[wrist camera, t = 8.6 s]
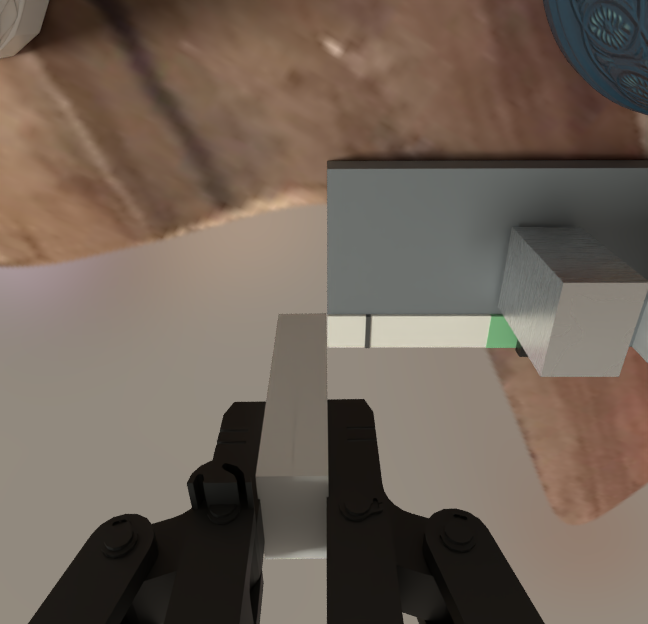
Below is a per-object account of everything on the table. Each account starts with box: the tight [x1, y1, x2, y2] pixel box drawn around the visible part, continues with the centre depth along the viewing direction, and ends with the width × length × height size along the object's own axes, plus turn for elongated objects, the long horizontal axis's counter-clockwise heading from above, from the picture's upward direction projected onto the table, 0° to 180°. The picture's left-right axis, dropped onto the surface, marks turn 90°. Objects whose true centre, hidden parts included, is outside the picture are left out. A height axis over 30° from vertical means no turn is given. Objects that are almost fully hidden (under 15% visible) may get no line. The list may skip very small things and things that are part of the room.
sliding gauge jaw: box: [498, 227, 648, 377], centre depth 22 cm, size 3×6×6 cm, turn 0°
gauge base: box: [327, 160, 648, 363], centre depth 22 cm, size 18×9×8 cm, turn 90°
